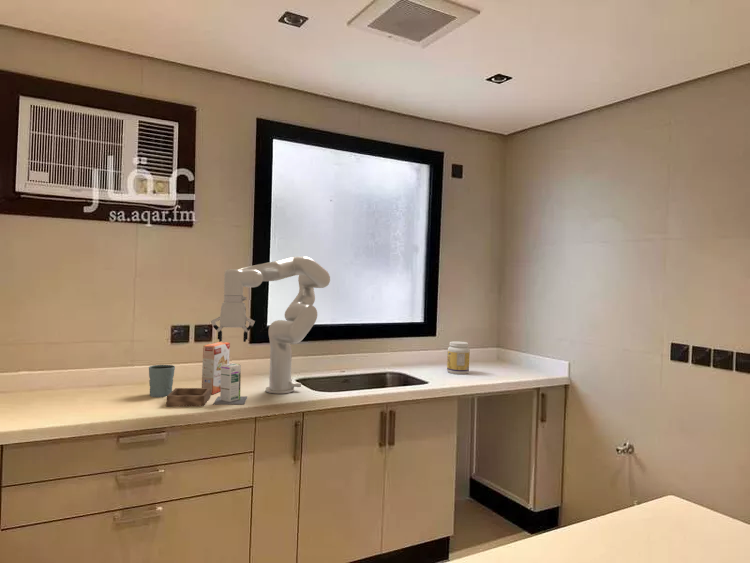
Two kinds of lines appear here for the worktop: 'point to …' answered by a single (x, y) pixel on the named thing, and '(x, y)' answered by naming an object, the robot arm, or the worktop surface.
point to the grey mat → (236, 402)
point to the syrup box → (230, 382)
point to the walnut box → (188, 397)
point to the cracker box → (214, 364)
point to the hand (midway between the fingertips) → (232, 341)
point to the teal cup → (161, 380)
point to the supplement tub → (458, 357)
